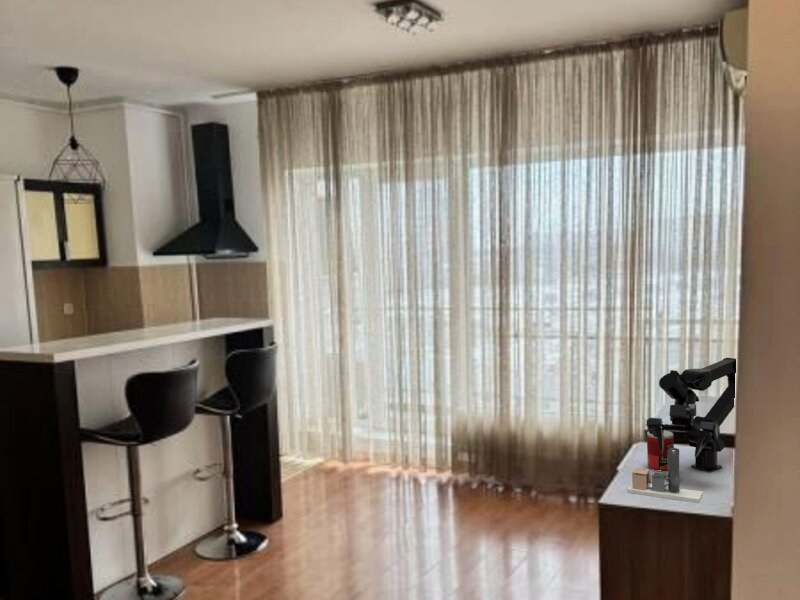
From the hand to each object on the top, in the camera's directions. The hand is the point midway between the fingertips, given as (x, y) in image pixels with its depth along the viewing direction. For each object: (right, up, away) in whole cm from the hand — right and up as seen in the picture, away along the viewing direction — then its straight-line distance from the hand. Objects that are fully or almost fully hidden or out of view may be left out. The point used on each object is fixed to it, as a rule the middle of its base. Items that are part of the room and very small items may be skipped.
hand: (678, 454), depth 200 cm
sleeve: (-6, -9, -2) cm, 11 cm away
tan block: (-10, -9, +1) cm, 14 cm away
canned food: (+2, -8, +19) cm, 21 cm away
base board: (-5, -10, -3) cm, 12 cm away
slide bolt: (-6, -9, -2) cm, 11 cm away
